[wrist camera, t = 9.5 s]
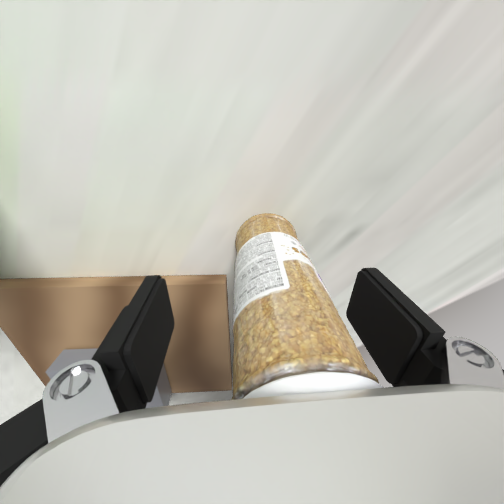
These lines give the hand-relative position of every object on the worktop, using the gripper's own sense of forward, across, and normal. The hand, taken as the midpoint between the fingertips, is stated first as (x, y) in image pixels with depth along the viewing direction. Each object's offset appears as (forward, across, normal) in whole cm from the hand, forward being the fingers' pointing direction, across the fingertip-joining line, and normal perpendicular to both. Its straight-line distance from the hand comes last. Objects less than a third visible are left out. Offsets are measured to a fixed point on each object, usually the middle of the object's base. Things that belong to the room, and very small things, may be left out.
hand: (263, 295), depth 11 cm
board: (+6, +11, +10) cm, 16 cm away
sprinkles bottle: (+6, -1, 0) cm, 6 cm away
